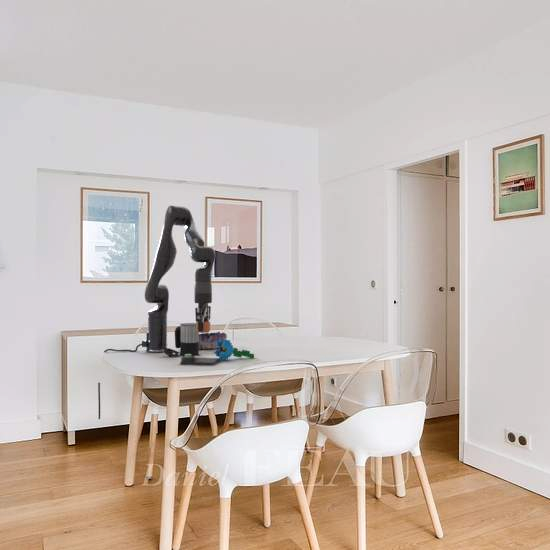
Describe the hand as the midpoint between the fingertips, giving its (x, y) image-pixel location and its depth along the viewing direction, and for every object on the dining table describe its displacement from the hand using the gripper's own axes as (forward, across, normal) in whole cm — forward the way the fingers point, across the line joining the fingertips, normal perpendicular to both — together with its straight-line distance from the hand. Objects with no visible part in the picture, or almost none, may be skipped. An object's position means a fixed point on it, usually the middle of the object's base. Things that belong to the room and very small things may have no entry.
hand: (203, 330), depth 233 cm
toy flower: (+14, -12, +11) cm, 22 cm away
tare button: (+11, +5, -5) cm, 13 cm away
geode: (+14, -44, -13) cm, 48 cm away
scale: (+14, +1, -1) cm, 14 cm away
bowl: (+1, 0, 0) cm, 1 cm away
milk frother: (+14, -18, -17) cm, 28 cm away
